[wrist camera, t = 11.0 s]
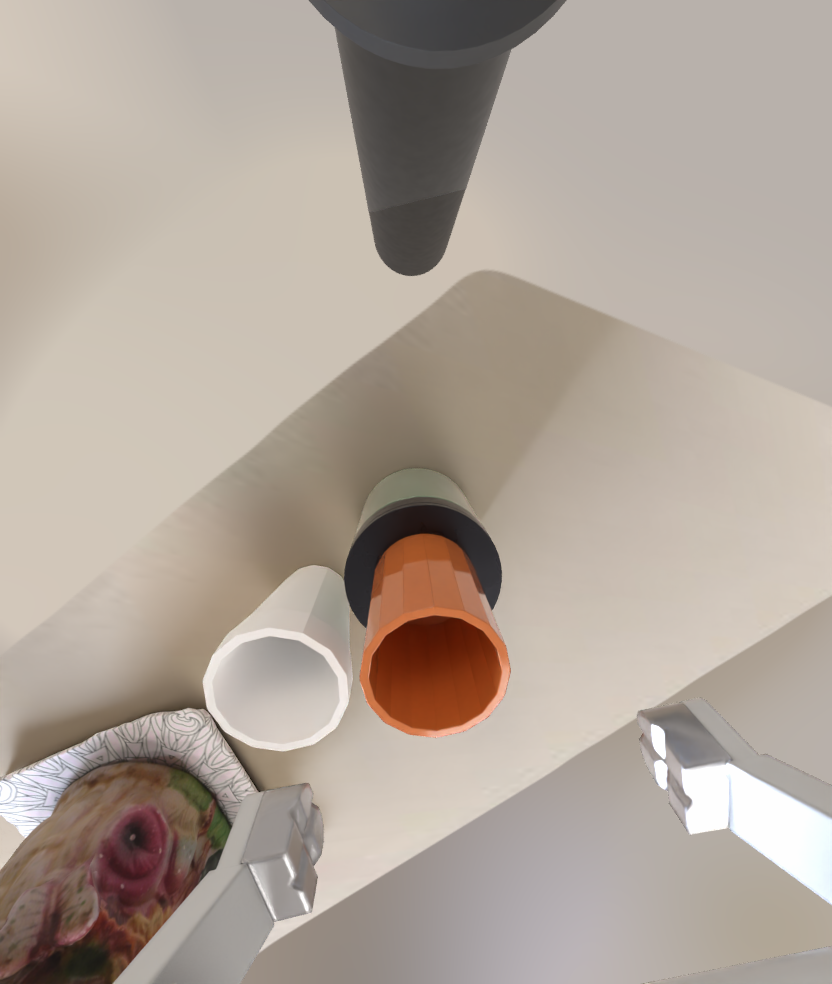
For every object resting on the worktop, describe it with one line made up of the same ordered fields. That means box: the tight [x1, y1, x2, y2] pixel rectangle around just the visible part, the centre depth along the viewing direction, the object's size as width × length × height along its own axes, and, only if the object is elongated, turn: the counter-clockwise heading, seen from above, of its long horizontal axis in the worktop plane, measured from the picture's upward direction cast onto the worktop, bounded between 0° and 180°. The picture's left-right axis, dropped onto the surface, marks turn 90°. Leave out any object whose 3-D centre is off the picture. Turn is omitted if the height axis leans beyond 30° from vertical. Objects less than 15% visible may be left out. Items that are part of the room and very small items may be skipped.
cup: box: [359, 534, 511, 738], centre depth 22 cm, size 6×6×9 cm
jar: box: [354, 468, 481, 538], centre depth 33 cm, size 10×10×12 cm
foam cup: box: [202, 565, 353, 752], centre depth 34 cm, size 10×9×13 cm
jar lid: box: [344, 497, 502, 628], centre depth 28 cm, size 10×10×2 cm
